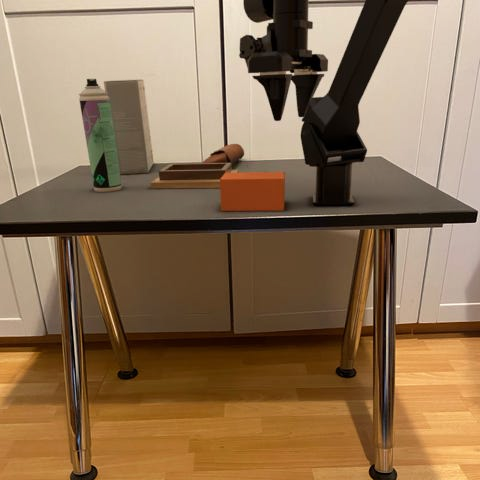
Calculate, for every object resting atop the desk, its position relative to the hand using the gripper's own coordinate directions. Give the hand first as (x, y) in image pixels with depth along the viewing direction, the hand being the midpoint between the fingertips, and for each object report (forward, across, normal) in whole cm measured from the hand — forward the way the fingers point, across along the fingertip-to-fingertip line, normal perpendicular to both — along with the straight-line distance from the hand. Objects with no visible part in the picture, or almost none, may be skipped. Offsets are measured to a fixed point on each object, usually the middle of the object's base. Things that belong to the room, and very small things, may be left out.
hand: (289, 118), depth 85 cm
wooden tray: (+12, 0, -22) cm, 25 cm away
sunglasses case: (+12, -21, -30) cm, 38 cm away
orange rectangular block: (+12, +14, +1) cm, 19 cm away
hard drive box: (+12, -8, -47) cm, 49 cm away
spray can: (+12, +13, -34) cm, 39 cm away
